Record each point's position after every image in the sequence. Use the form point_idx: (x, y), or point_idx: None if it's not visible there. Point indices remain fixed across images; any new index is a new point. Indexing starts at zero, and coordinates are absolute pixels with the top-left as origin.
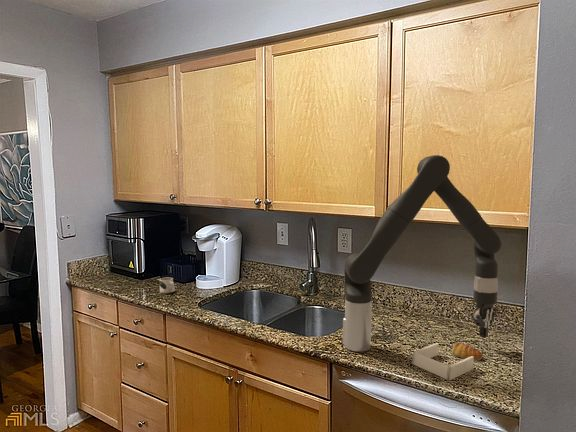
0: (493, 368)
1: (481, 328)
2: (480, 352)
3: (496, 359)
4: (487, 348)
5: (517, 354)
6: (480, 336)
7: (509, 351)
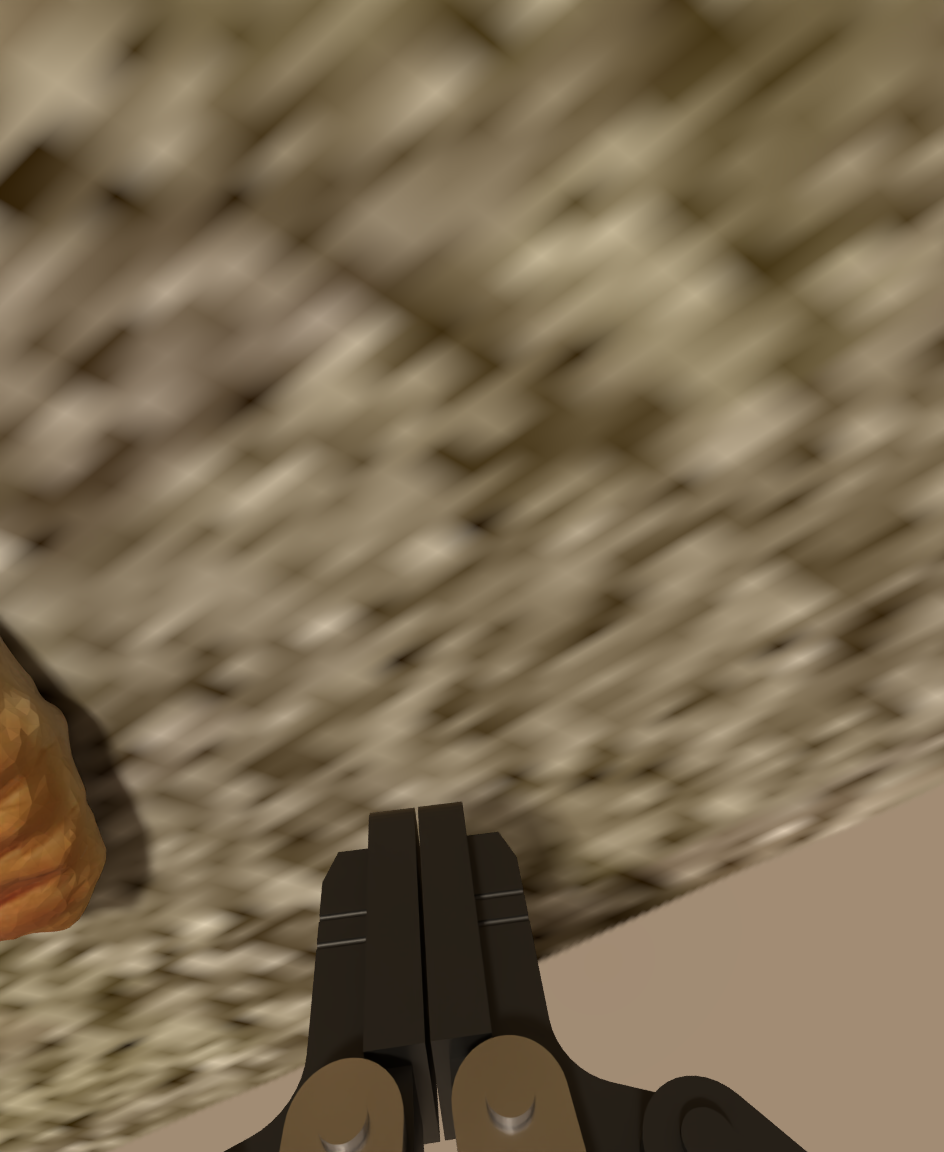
0: (19, 1029)
1: (334, 1056)
2: (35, 931)
3: (262, 926)
4: (476, 705)
5: (615, 926)
6: (369, 819)
7: (627, 858)
